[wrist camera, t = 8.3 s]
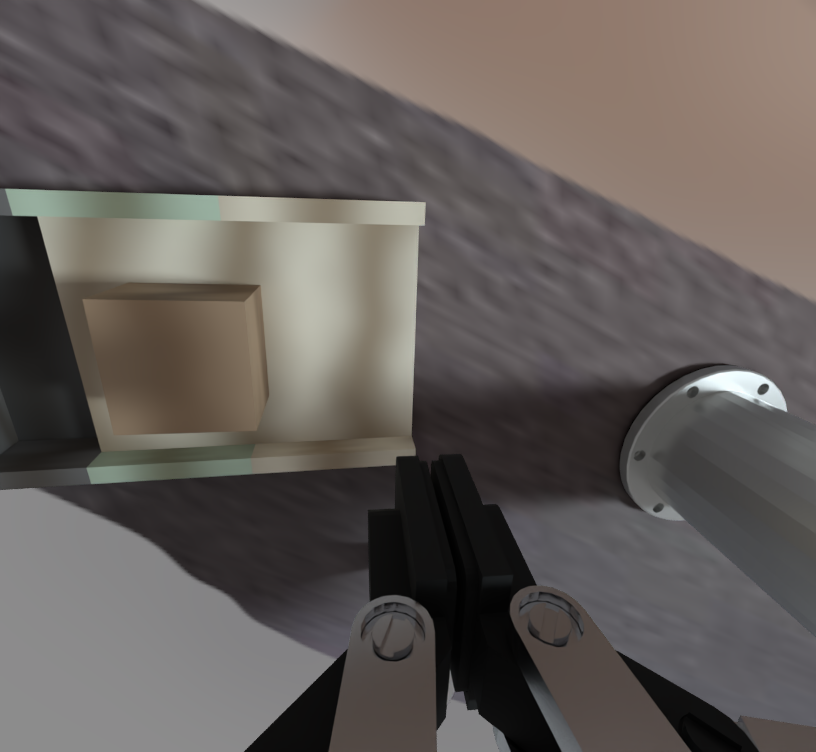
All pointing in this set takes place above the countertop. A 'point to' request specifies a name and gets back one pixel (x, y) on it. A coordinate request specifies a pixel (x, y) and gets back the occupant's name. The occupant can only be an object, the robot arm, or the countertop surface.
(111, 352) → the walnut block
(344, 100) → the countertop surface
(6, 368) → the trap lane
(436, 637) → the robot arm
